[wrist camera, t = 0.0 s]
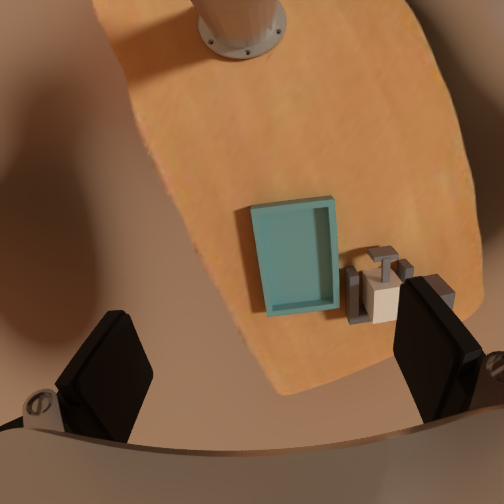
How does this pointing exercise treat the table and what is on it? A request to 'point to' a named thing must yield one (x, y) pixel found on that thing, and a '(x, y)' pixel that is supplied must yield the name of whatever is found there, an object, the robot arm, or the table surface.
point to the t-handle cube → (381, 286)
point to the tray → (297, 255)
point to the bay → (405, 270)
